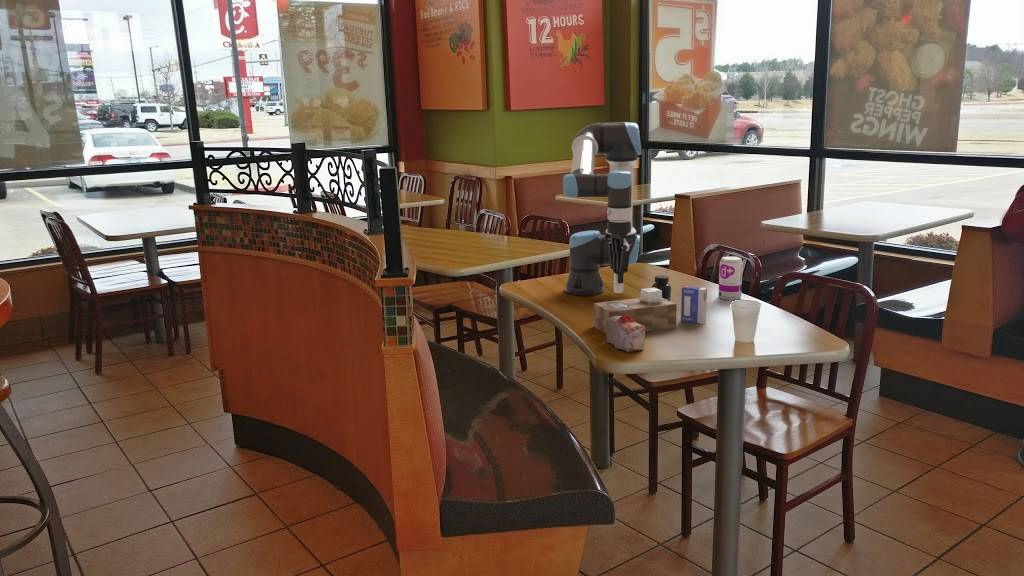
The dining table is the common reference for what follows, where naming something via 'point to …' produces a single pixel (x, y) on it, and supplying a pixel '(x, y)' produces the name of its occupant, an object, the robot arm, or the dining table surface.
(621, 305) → the peg near
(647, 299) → the peg far
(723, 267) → the supplement can
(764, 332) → the dining table surface
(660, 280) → the supplement bottle
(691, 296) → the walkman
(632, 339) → the food item
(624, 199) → the robot arm
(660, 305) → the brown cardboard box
